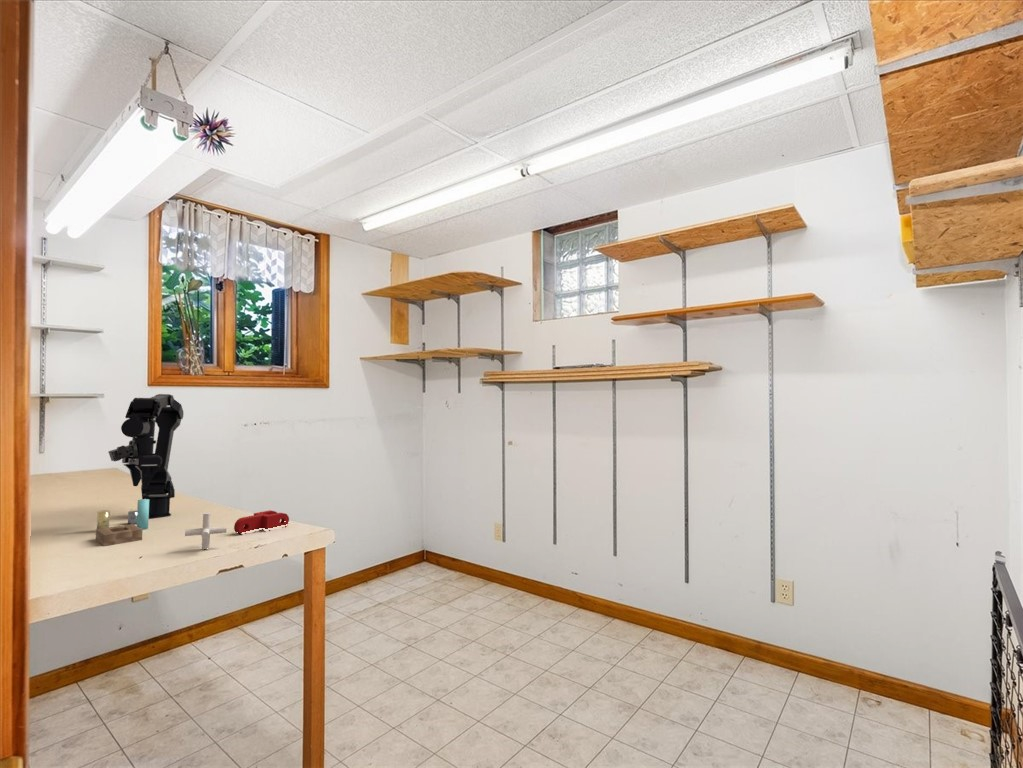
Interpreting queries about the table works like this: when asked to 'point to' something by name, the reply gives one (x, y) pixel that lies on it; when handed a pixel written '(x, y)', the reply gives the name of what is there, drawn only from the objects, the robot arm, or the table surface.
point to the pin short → (132, 517)
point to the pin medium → (103, 519)
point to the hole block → (118, 534)
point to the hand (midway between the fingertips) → (139, 487)
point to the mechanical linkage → (261, 521)
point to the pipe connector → (205, 530)
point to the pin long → (143, 513)
